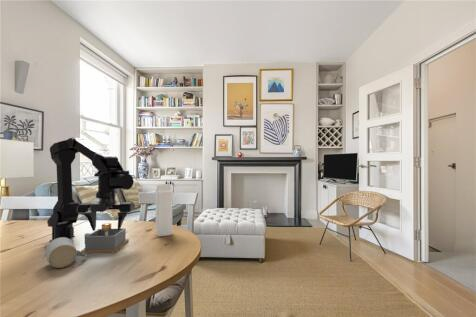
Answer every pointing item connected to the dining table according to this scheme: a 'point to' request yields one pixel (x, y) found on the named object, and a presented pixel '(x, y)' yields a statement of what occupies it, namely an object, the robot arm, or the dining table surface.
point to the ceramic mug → (63, 253)
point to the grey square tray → (105, 241)
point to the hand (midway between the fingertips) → (106, 230)
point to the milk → (164, 210)
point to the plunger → (106, 228)
